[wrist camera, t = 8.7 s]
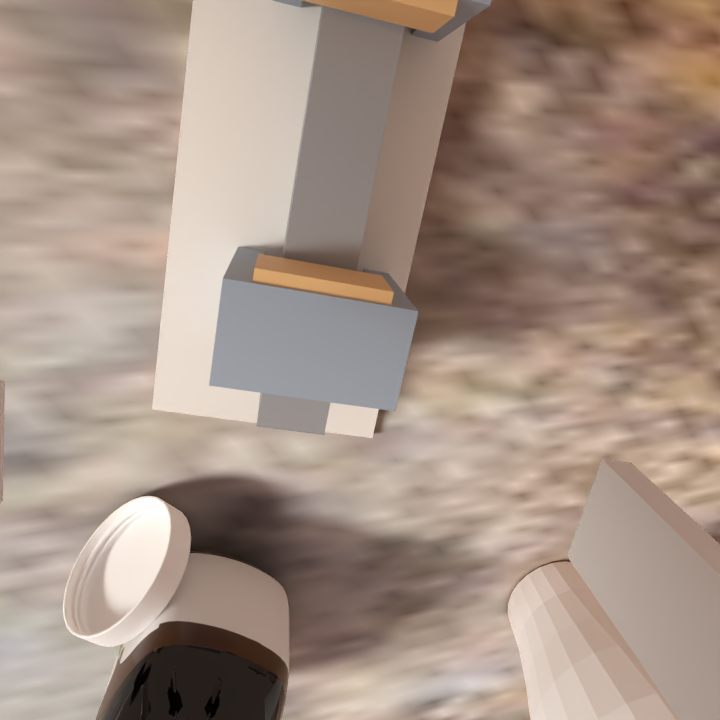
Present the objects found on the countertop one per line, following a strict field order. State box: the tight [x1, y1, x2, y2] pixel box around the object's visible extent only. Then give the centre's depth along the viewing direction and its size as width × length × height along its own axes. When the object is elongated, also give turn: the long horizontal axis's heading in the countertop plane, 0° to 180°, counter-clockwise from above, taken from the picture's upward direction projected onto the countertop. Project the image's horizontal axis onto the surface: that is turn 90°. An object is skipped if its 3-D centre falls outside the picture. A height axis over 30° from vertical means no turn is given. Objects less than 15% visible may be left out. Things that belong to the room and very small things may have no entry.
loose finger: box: [209, 247, 419, 411], centre depth 25 cm, size 7×4×7 cm, turn 79°
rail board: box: [152, 0, 466, 438], centre depth 25 cm, size 11×27×4 cm, turn 169°
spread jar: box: [63, 496, 289, 720], centre depth 28 cm, size 12×11×12 cm
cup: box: [508, 561, 679, 720], centre depth 31 cm, size 10×10×14 cm
